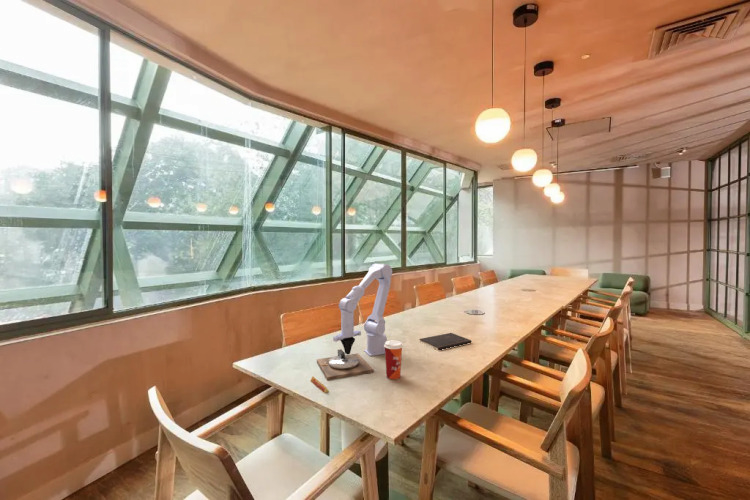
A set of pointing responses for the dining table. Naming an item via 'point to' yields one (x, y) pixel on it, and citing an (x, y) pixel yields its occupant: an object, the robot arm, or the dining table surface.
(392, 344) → the paper cup
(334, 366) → the dial
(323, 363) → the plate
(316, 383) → the chocolate bar
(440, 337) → the black spiral notebook
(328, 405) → the dining table surface
